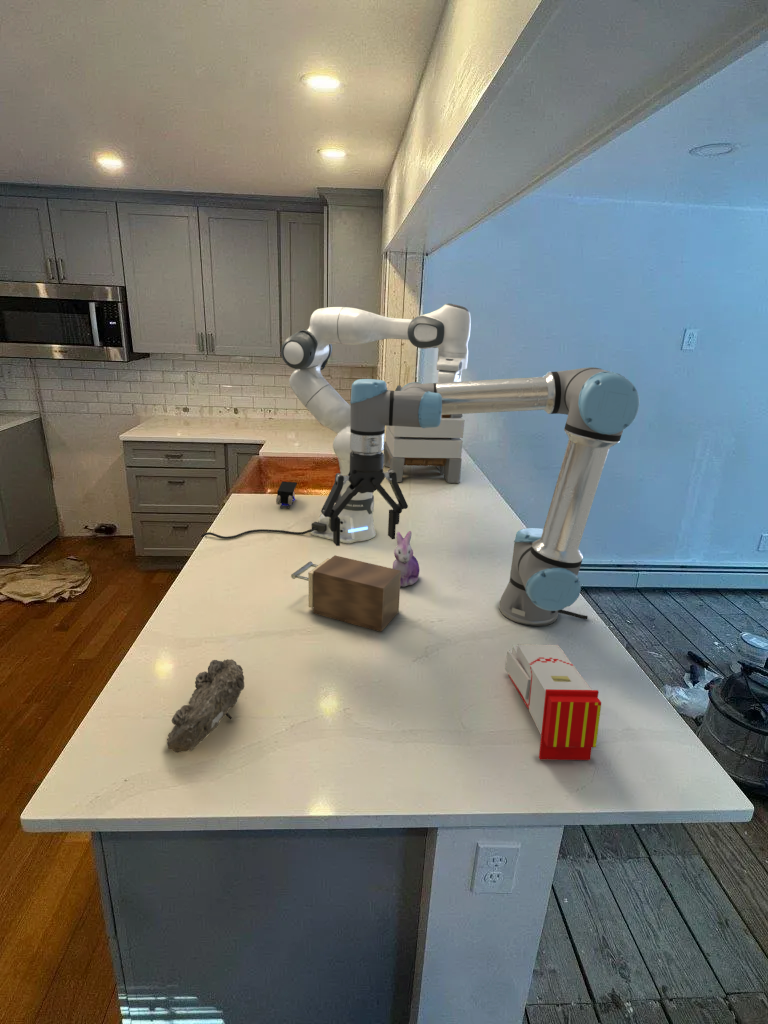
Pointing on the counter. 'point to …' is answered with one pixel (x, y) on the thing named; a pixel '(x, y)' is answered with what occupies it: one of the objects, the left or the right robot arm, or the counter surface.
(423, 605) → the counter surface
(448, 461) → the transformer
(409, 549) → the figurine
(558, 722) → the toy
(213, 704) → the fossil
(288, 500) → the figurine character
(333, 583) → the cabinet
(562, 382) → the right robot arm
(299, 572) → the drawer
